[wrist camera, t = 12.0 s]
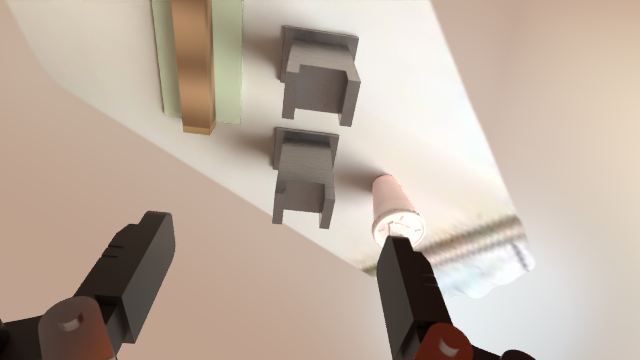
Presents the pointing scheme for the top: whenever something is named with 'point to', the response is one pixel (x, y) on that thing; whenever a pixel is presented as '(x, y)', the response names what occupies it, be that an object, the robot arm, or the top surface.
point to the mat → (225, 58)
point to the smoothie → (394, 212)
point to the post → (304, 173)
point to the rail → (195, 64)
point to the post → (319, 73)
